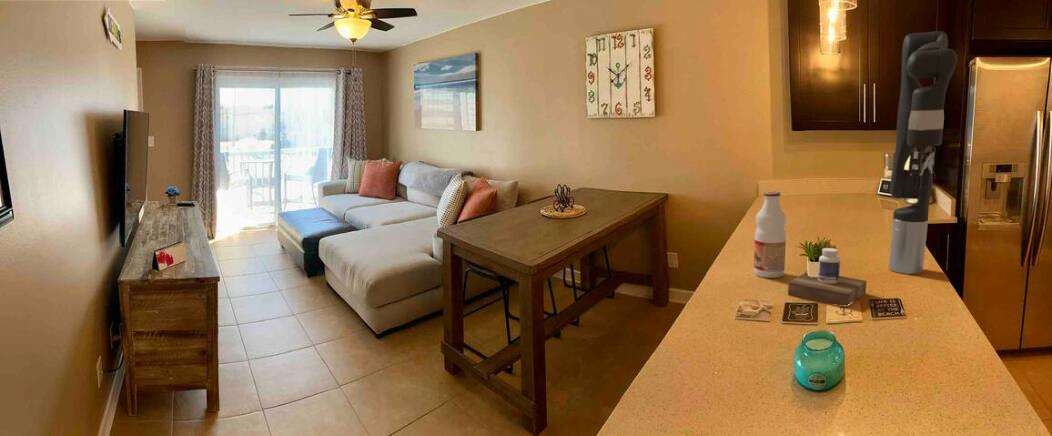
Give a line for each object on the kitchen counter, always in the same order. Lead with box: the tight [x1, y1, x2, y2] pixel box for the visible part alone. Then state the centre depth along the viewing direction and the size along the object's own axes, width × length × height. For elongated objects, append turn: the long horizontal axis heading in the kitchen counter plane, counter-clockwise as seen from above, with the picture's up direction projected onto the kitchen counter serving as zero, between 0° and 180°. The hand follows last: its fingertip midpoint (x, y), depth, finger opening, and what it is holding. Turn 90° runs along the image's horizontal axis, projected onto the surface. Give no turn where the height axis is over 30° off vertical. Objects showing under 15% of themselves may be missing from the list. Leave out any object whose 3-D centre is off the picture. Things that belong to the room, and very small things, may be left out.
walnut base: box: [787, 271, 867, 306], centre depth 159 cm, size 15×16×4 cm
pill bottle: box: [817, 247, 841, 284], centre depth 158 cm, size 5×5×10 cm
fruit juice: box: [753, 190, 787, 279], centre depth 177 cm, size 9×9×28 cm
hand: (919, 187), depth 147 cm, fingers open, 8 cm apart
